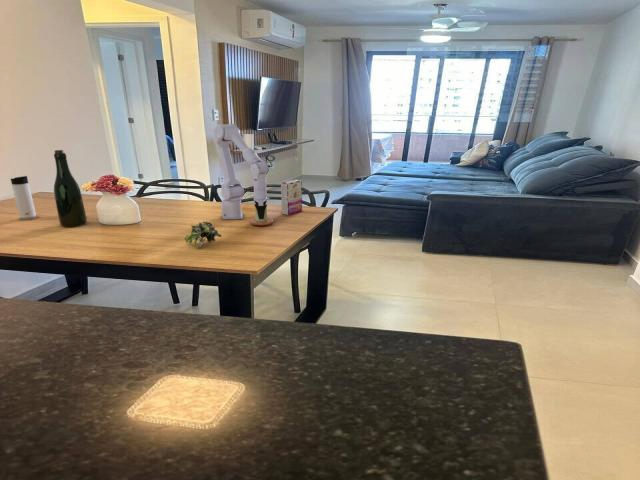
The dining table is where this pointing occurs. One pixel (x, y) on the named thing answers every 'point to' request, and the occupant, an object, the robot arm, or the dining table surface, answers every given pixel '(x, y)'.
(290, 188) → the candy bar box
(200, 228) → the green leafy plant
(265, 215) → the jar
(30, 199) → the travel mug
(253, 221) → the stand
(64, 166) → the green wine bottle
